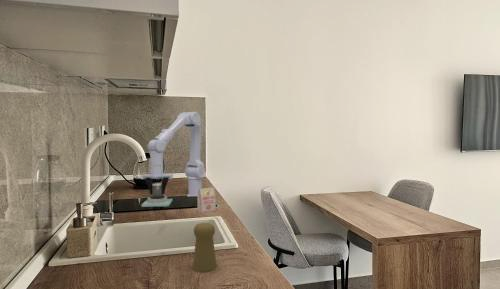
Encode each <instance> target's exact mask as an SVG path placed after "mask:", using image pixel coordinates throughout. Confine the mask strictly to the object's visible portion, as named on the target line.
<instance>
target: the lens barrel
mask: <svg viewBox="0 0 500 289" xmlns="http://www.w3.org/2000/svg"><path fill="white" fill-rule="evenodd" d="M162 188H163V187H162V182H152V194H151V196H152V199H160V198H163V196H164V194H162Z"/></svg>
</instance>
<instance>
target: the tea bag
mask: <svg viewBox="0 0 500 289" xmlns="http://www.w3.org/2000/svg"><path fill="white" fill-rule="evenodd" d="M215 192H216V191H215V187H204V188H203V187H202V188H201V189H199V190H198V196H196V198H197V200H196V201H197V205H196V206H197V212H198V213H199V214H204V213H205V214H207V213H214V212H216V211H217V210H216V208H217V206H216V204H217V203H216V193H215Z"/></svg>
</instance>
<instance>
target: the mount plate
mask: <svg viewBox="0 0 500 289" xmlns="http://www.w3.org/2000/svg"><path fill="white" fill-rule="evenodd" d="M173 201H174V200H173V198H167V202H164V203H155V204H153V203H148V198H147V199H146V200H145V201H144V202H142V203H141V208H144V207H147V208H148V207H170V205H171V203H173Z"/></svg>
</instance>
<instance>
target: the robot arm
mask: <svg viewBox="0 0 500 289" xmlns="http://www.w3.org/2000/svg"><path fill="white" fill-rule="evenodd" d="M201 118H202V116H201V115H200V114H199V113H198V112H197V111H189V112H187V111H186V112H181V113H179V115H177V118H176V119H175V121H174V122H172V124H171V125H170V126H169V127H168V128H164V129H161V130H160V133H159V134H158V135H156V136H155V138H154V139H151V140H149V142H148V144H147V145H146V146H147V147H146V148H147V150H148V151H149V155H150V160H149V161H150V174H149V173H147V174H145V173H144V174H140V179H141V180H145V181H144V182H145V184H146V185H147V188H148V190H149V195H152V183H153V180H155V179H156V180H157V179H158V180H159V179H161V183H162V187H163V188H162V194H163V195H165V193H166V188H167V185H168V182H169V180H171V179H173V178H174V174H173V173H164V151H165V150H166V146H168V144H169V142H170V141H171V140H172V139H173V138H174V134H175V133H176V132H177V131H178V130H180V128H182V126H185V127H186V128H188V129H189V131H190V140H189V141H190V142H189V143H190V145H189V146H190V147H189V160H188V161H187V163H186V166H185V169H184V173H185V174H184V175H185V176H186V177H187V179H188V180H187V181H188V182H187V183H188V193H187V195H186V196H187V197H189V198H190V197H198V190H199V189H201V188H203V179H204V177H205V175H206V169H205V163H204V162H203V161H202V160H201V151H202V150H201V148H202V145H201V144H202V124H201Z"/></svg>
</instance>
